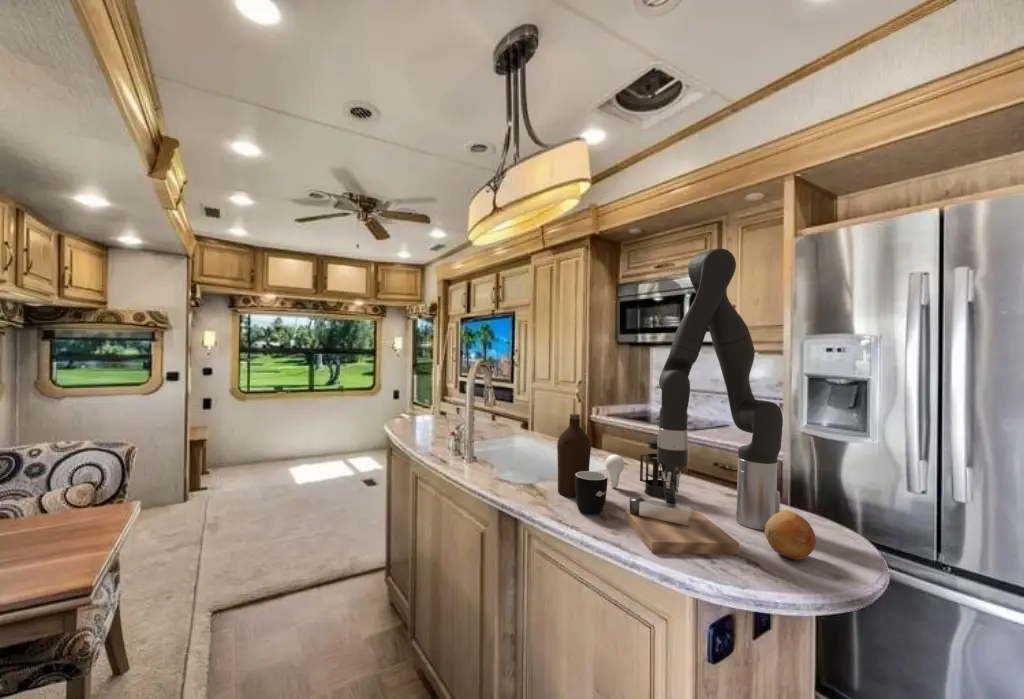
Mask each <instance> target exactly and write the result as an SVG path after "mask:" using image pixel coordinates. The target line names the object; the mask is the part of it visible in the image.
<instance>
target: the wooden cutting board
mask: <svg viewBox="0 0 1024 699" xmlns="http://www.w3.org/2000/svg"><path fill="white" fill-rule="evenodd" d="M629 510H630V509H625V510H624V520H625V522H626V523H627V524H628V526H629V527H630V528H631V529H632V530H633V532H634V533H635V534H636V535H637V537H639V539H640V540H641V542H642V543H643V544H644V546H645V547H646V548H647V549H648V550H649V551H651V552H650V553H651V554H680V553H693V554H695V555H698V554H699V555H700V554H701V555H702V554H703V555H705V554H706V555H709V554H711V555H739V554H740V542H739V541H737V540H736V539H734V538H733V537H732V536H731V535H730V534H728V533H727V532H726V531H725V530H723V529H722V528H720V527H719V526H718V525H717V524H715V523H714V522H713V521H711V520H710V519H709V518H707V516H704V515H703V514H702V513H700V512H699V511H698V510H691V522H690V524H689V526H686V525H681V524H677V523H672V522H668V521H663V520H658V519H654V518H649V517H645V516H640V515H634V514H631V513H630V512H629ZM693 554H692V555H693Z"/></svg>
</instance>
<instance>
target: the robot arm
mask: <svg viewBox="0 0 1024 699" xmlns="http://www.w3.org/2000/svg"><path fill="white" fill-rule="evenodd" d="M687 268H688V269H687V272H688V277H689V280H690V283H691V285H692V287H693V289H694V292H695V294H696V295H695V297H694V299H693V301H692V303H691V306H690V307H689V308H688V310H687V311H686V313H685V315H684V316H683V317H682V319H681V321H680V323H679V325H678V327H677V329H676V332H675V334H674V337H673V340H672V343H671V347H670V350H669V355H668V357H667V359H666V361H665V363H664V365H663V368H662V371H661V373H660V377H659V380H658V385H659V387H660V390H661V407H660V408H659V415H658V422H659V424H658V433H657V439H658V443H657V450H656V453H657V457H656V459H657V462H658V463H660V464H661V466H662V465H665V466H666V468H665V471H663V478H664V480H663V482H662V484H663V490H664V497H666V498H665V500H666V501H665V503H670V504H675V505H677V497H678V492H679V488H680V477H681V475H682V472H681V470H679V468H682V467H686V466H688V460H689V459H688V457H689V456H688V452H689V450H688V449H689V434H688V408H689V402H690V394H691V381H690V379H689V376H690V373H691V370H692V366H694V364H695V363H696V362H697V360H698V357H699V355H700V352H701V349H702V345H703V343H704V341H705V337H706V334H707V332H708V331H709V334H710V338H711V342H712V346H713V349H714V351H715V354H716V357H717V360H718V363H719V366H720V370H721V374H722V378H723V381H724V384H725V388H726V392H727V393H726V394H727V397H728V398H727V399H728V403H729V408H730V415H731V417H732V420H733V423H734V424H735V426H736V427H737V429H739V430H740V431H742V432H746V433H749V434H752V437H751V441H750V443H749V444H746V445H741V446H740V447H738V450H737V451H738V452H737V488H736V490H737V491H736V521H737V523H738V524H740V525H742V526H745V527H747V528H750V529H754V530H761V531H765V525H766V523H767V521H768V520H769V519H770V518H771V517H772V516H773V515H774V514H776V513H778V512H781V492H780V491H779V490H778V489H777V488H778V487H777V484H778V482H777V481H778V479H777V478H778V457H779V454H780V451H781V449H782V438H783V437H782V436H783V428H784V426H783V425H784V418H783V417H784V416H783V412H782V409H781V407H780V405H778V404H777V403H776V402H773V401H768V400H762V399H756V398H755V396H754V393H753V391H752V388H751V387H752V386H751V383H750V373H751V371H752V367H753V364H754V360H755V355H756V351H755V350H756V349H755V347H754V342H753V339H752V335H751V333H750V330H749V327H748V325H747V324H746V322H745V321H744V319H743V318H742V317H741V315H740V314H739V313H738V311H737V310H736V309H735V308H734V306H733V304H732V303H731V301H730V299H729V298H728V296H727V295H728V294H727V292H726V291H727V288H728V287H729V285H730V283H731V281H732V279H733V276H734V275H735V273H736V269H737V262H736V258H735V256H734V254H733V253H732V252H731V251H729V249H726V248H714V249H709V250H706V251H702V252H700V253H697V254H695V255H694V256H692V258H691V259H690V261H689V263H688V267H687ZM660 464H659V465H660Z"/></svg>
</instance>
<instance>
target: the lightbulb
mask: <svg viewBox="0 0 1024 699" xmlns="http://www.w3.org/2000/svg"><path fill="white" fill-rule="evenodd" d="M605 468H606V470H607V472H608V475H609V482H610V483H609V484H610V485H609V486H610V487H612V488H613V489H616V488H618V486H619V481H620V476H621V474H622V472H623V470H624V468H625V461H624V459H623V457H622V456H620V455H617V454H611V455H609V456H608V457H607V458H606V459H605Z"/></svg>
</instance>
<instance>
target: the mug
mask: <svg viewBox="0 0 1024 699" xmlns="http://www.w3.org/2000/svg"><path fill="white" fill-rule="evenodd" d="M575 491H576V497H575V499H576V500H575V501H576V505H577V510H578V511H579V512H580V513H581V514H584V515H587V516H598V515H601V514H602V513H603V511H604V509H605V505H606V500H607V491H608V475H606V474H605V473H602V472H599V471H593V470H592V471H591V470H589V471H581V472H577V473H576V474H575Z"/></svg>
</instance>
